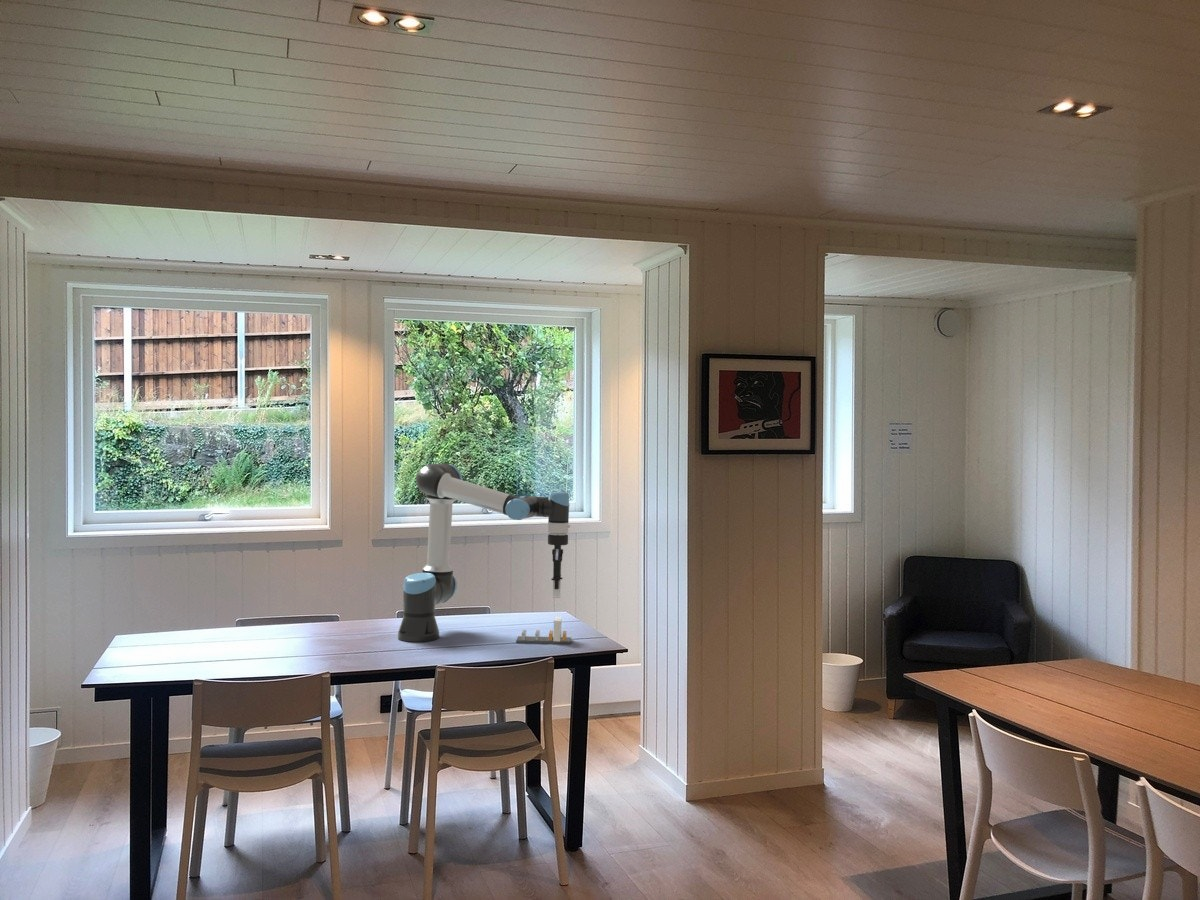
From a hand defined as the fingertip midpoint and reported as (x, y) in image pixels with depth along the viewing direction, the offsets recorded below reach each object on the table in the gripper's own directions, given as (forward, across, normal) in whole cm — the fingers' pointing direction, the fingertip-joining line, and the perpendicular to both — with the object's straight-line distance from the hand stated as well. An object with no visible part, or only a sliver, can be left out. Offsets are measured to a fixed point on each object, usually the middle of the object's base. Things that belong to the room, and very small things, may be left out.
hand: (556, 597), depth 348 cm
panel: (+15, 0, -1) cm, 15 cm away
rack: (+16, 0, +4) cm, 17 cm away
